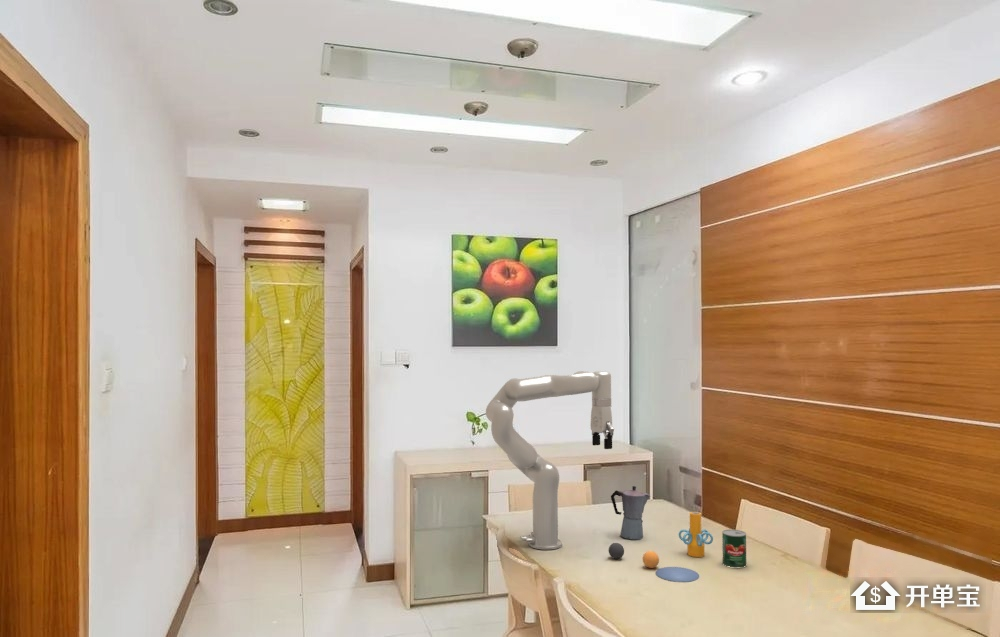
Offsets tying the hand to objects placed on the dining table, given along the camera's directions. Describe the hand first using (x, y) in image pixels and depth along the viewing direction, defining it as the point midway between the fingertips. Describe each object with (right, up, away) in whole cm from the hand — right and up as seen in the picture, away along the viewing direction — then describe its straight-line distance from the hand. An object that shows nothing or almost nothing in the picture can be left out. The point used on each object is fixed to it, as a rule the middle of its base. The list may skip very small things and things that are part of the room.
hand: (602, 446), depth 264 cm
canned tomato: (+41, -35, -30) cm, 62 cm away
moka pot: (+12, -36, +3) cm, 38 cm away
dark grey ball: (+1, -33, -23) cm, 40 cm away
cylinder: (+31, -36, -20) cm, 51 cm away
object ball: (+12, -32, -33) cm, 48 cm away
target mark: (+19, -35, -40) cm, 56 cm away
